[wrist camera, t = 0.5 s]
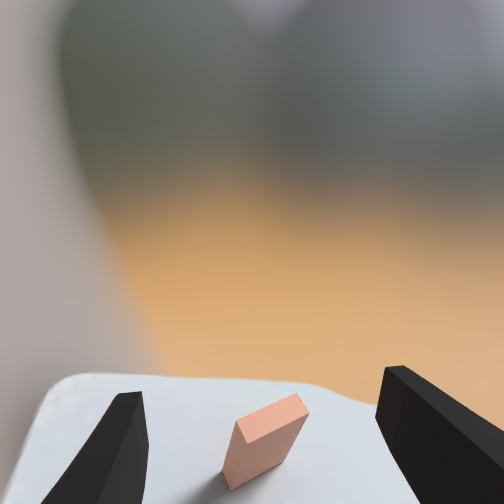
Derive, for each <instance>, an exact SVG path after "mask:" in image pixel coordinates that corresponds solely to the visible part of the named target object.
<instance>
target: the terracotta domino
mask: <svg viewBox="0 0 504 504" xmlns="http://www.w3.org/2000/svg"><path fill="white" fill-rule="evenodd" d="M308 415H309V411H308V410H307V408H306V407H305V405H304V403H303V402H302V400H301V399H300V397H299V396H298V394H297V393H296V394H293V395H291V396H289V397H287V398H285V399H282V400H280V401H278V402H276V403H274V404H271V405H269V406H267V407H265V408H263V409H260V410H258V411H256V412H254V413H252V414H249V415H247V416H245V417H243V418H241V419H239V420H236V423H235V426H234V430H233V433H232V437H231V440H230V444H229V447H228V451H227V454H226V458H225V461H224V465H223V468H222V472H223V474H224V477H225V479H226V482H227V484H228V486H229V489H230V491H232V490H234V489H236V488H237V487H239V486H241V485H243V484H245V483H246V482H248V481H250V480H252V479H253V478H255V477H257V476H259V475H260V474H262V473H264V472H266V471H268V470H269V469H271V468H273V467H275V466H276V465H278V464H280V463H282V462H283V461H284V460H285V458H286V456H287V454H288V452H289V450H290V449H291V447H292V445H293V443H294V441H295V439H296V437H297V435H298V433H299V432H300V430H301V428H302V426H303V424H304V422H305V420H306V418H307V417H308Z"/></svg>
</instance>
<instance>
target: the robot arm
mask: <svg viewBox="0 0 504 504" xmlns="http://www.w3.org/2000/svg"><path fill="white" fill-rule="evenodd" d="M375 419H376V421H377V423H378V426H379V428H380V430H381V433H382V435H383V437H384V439H385V442H386V444H387V446H388V448H389V450H390V452H391V454H392V456H393V458H394V459H395V461H396V463H397V465H398V466H399V468H400V470H401V472H402V473H403V475H404V477H405V478H406V480H407V482H408V484H409V485H410V487H411V489H412V490H413V492H414V494H415V495H416V497H417V499H418V500H419V502H420V504H504V431H502V430H501V429H499V428H498V427H496V426H494V425H493V424H491V423H490V422H488V421H487V420H485V419H484V418H482V417H480V416H479V415H477V414H476V413H474V412H473V411H471V410H470V409H468V408H467V407H465V406H464V405H462V404H460V403H459V402H458V401H456V400H455V399H453V398H452V397H450V396H449V395H448V394H446V393H445V392H443V391H442V390H440V389H439V388H437V387H436V386H434V385H433V384H431V383H430V382H428V381H427V380H425V379H424V378H422V377H420V376H419V375H418V374H416V373H415V372H413V371H412V370H410V369H409V368H407V367H405V366H403V365H402V366H393V367H386V368H385V370H384V375H383V380H382V386H381V391H380V396H379V401H378V406H377V411H376V416H375ZM148 450H149V442H148V435H147V427H146V420H145V412H144V405H143V398H142V391H139V392H129V393H119V394H118V395H117V396H116V397H115V398H114V399H113V401H112V403H111V404H110V406H109V407H108V409H107V411H106V412H105V414H104V415H103V417H102V419H101V420H100V422H99V423H98V425H97V426H96V428H95V429H94V431H93V432H92V434H91V435H90V437H89V438H88V440H87V441H86V443H85V444H84V445H83V447H82V448H81V450H80V451H79V453H78V454H77V455H76V457H75V458H74V460H73V461H72V462H71V464H70V465H69V467H68V468H67V470H66V471H65V472H64V474H63V475H62V476H61V478H60V479H59V480H58V482H57V483H56V484H55V486H54V487H53V488H52V489H51V491H50V492H49V493H48V495H47V496H46V497H45V499H44V500H43V501H42V502H41V504H142V499H143V493H144V488H145V480H146V471H147V461H148Z"/></svg>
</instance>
